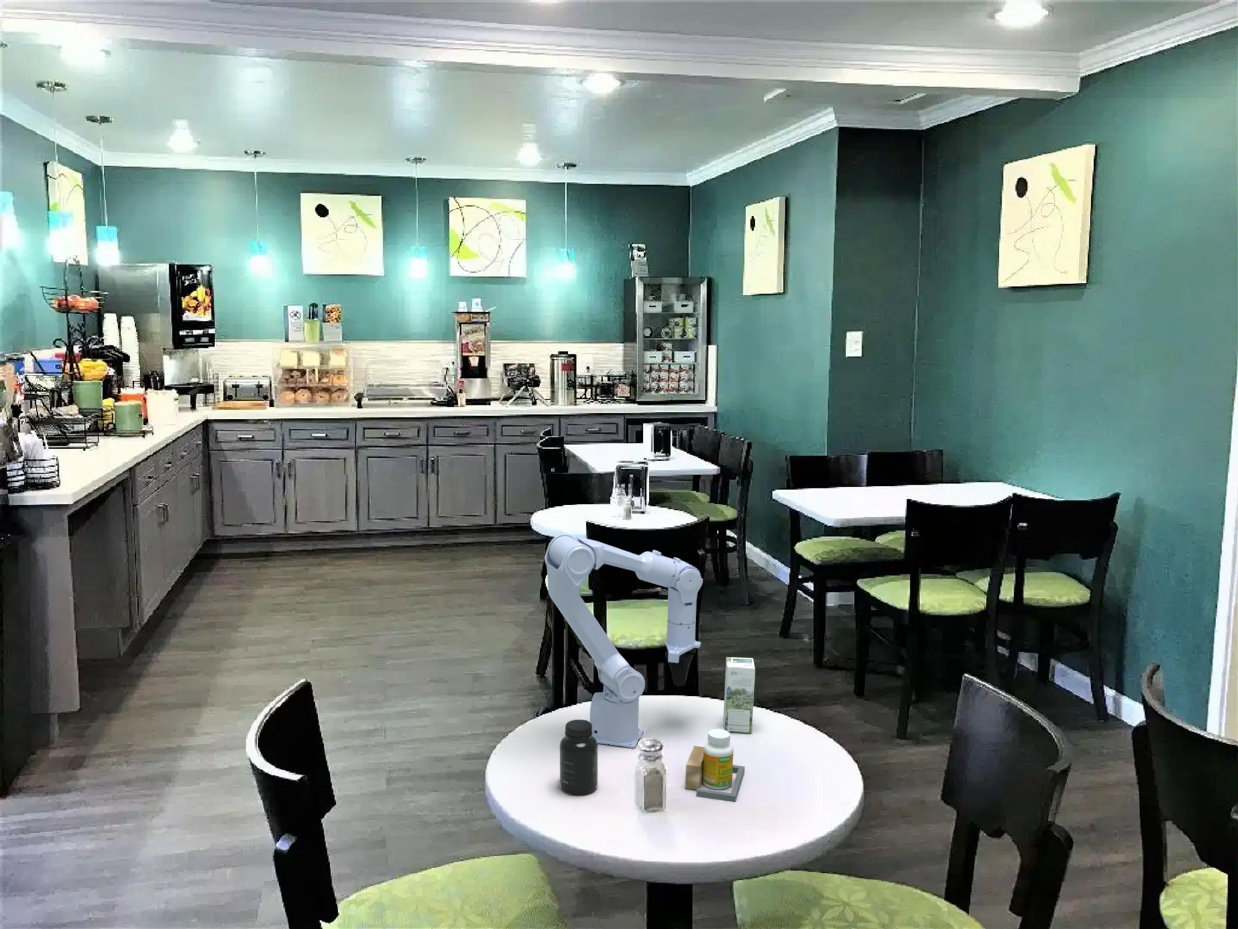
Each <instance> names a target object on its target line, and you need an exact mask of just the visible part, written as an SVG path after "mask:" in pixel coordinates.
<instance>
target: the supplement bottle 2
mask: <svg viewBox="0 0 1238 929" xmlns="http://www.w3.org/2000/svg"><path fill="white" fill-rule="evenodd" d="M703 747H704V755H703V781H702V783H703V785H704V786H706V787H707V788H709V789H712V790H717V791H718V790H726V789H728V788H730V787H731V786H732V785H733V773H734V772H733V765H734V746H733V744H732V743H731V732H728V731H726V730H724V728H714V729H709V731H708V732H707V742H705V744H704V745H703Z"/></svg>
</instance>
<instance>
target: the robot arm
mask: <svg viewBox="0 0 1238 929" xmlns="http://www.w3.org/2000/svg"><path fill="white" fill-rule="evenodd" d="M576 539H577V540H576ZM544 563H545V565H546V572H547V589H548V590H547V591H548V595H549V597H550V599H551V600H552V602H553V603H554V604H555V606H556V608H558V610H559V611H560V613H561V614H562V616H563V617H564V619H565V621H566V622H567V623H568V625H569V626H570V628H571V629H572V630H573V632H574V633H575V635H576V636H577V638H578V639H579V640H580V642H581V644H582V645H583V647H584V648H585V649H586V651H587V652H588V654H589V655H590V657H591V658H592V659H593V664H594V666H595V667H596V669H597V673H598V674H597V675H598V679H599V682H600V683H602V685H603V690H602V692H595V693H594V694H593V696H592V698H591V703H590V708H589V709H590V710H589V722H590V723H591V724H592V732H593V734H592V736H593V737H594V738H595V739H596V741H597V743H598V744H601V745H602V744H603V745H608V744H609V746H618V747H624V748H631V749H634V748H636V746H637V744H638V743H637V742H639V741H638V739H639V738H640V739H641V737H642V735H643V734H644V729H640V728H639V711H640V710H639V709H640V708H639V707H640V706H639V705H640V697H641V696H642V695H643V692H644V690H645V688H646V680H645V677H644V676H643V675H642V673H640V672H639V671H637V670H635V669H634V668H633V667H632V666H630V664H629V663H628V661H627V660H626V659H625V658H624V657H623V656H622V655H621V653H619V651H618V649H617V648H616V647H615V645H614V643H613V642H612V641H611V639H610V638H609V636H608V635H607V633H606V632H605V630H603V627H602V626H601V625H600V623H599V621H598V620H597V619H596V617H595V616H594V614H593V613H592V612H591V610H590V609H589V607H588V605H587V604H586V603H585V601H584V599H583V598H582V597H581V595H580V589H581V587H582V586H583V584H584V582H585V581H586V579H587V578H588V576H589V575H590V574H591V571H593V569H594V570H599V569H600V568H601V567H602V566H603V565H609V566H613V567H617V568H621V569H624V570H628V571H629V570H630V571H633V572H635V575H636V577H637V578H638V579H639V580H641V581H643V582H648V583H651V584H655V585H658V586H662V587H664V588H667V591H668V592H667V593H668V594H667V620H666V621H667V622H666V623H667V624H666V639H665V646H666V649H667V650H666V651H665V653H664V656H665V659H666V661H667V662H668V663H667V664H669V668H670V671H671V672H670V673H671V678H672V681H673V685H674V686H679V687H684V686H685V685H686V682H687V679H688V674H689V669H690V665H691V663H692V660H693V659H694V658H693V657H694V655H695V654H696V650H697V649H700V647H701V644H702V642H701V641H697V640H696V625H697V624H696V622H697V620H696V617H697V599H698V592H699V590H700V589H701V587H702V585H703V583H704V581H703V580H704V578H702V576H701V573H700V570H698V568H697V567H696V566H693V565H692V564H689V562H686V561H684V560H681V559H680V558H678V557H675V556H674V557H673V558H670V557H667V556H664V555H662V552H660V551H658V550H656V549H653V550H652V552H651V551H644V552H642V553H641V554H639V555H638V554H636V553H632V552H630V551H626V550H623V549H621V548H618V547H616V546H612V545H609V544H606V543H603V542H600V541H598V540H593V539H590V538H589V539H588V538H585V537H581V536H580V537H579V536H575V538H574V537H573V536H571V535H570V534H566V533H564V534H559V535H556V536H555V537H553V538H552V539H551V540H550V542H549V543H548V546H547V549H546V551H545V554H544ZM640 739H639V740H640Z"/></svg>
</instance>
